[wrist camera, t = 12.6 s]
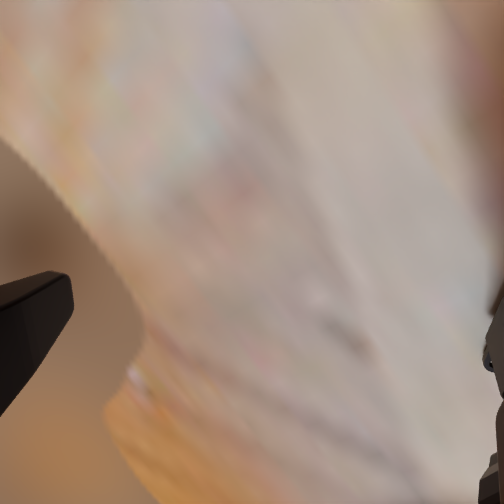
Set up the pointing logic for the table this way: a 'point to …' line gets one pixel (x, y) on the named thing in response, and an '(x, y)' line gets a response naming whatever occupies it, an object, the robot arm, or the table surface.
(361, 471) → the table surface
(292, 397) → the table surface
